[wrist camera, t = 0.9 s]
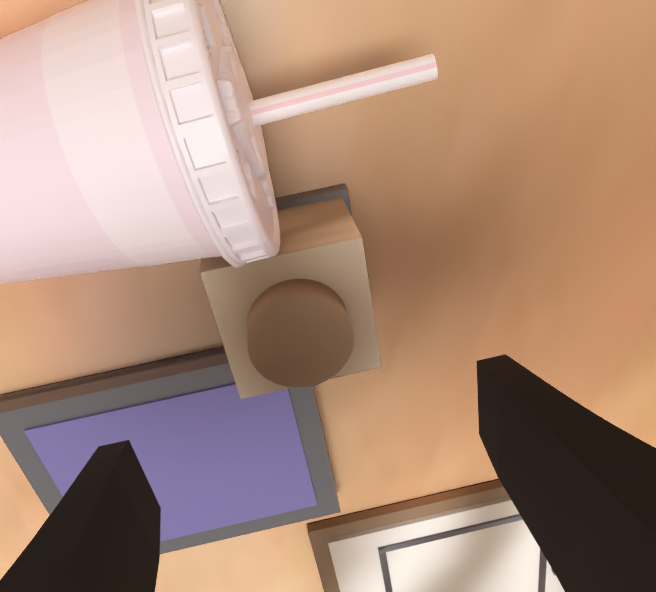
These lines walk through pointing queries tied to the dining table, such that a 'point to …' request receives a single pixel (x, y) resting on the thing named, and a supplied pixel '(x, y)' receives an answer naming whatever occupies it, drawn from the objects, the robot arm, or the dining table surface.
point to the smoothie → (144, 139)
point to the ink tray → (181, 445)
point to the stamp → (298, 300)
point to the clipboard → (433, 546)
